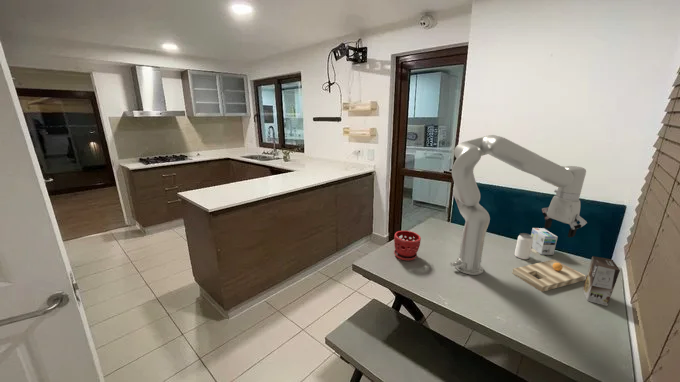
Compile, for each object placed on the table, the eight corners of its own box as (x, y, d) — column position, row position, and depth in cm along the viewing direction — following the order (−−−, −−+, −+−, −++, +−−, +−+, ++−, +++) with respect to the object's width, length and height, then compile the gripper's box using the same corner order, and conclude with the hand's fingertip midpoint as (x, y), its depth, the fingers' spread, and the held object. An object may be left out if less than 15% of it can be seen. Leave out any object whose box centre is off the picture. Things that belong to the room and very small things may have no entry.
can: (532, 259, 137) (537, 238, 133) (519, 259, 137) (523, 238, 133) (523, 253, 143) (528, 232, 139) (511, 253, 143) (515, 232, 139)
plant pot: (408, 265, 132) (410, 244, 128) (388, 255, 142) (389, 234, 138) (424, 257, 140) (426, 236, 136) (403, 247, 149) (405, 227, 146)
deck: (541, 291, 113) (543, 286, 112) (512, 273, 125) (513, 268, 125) (584, 280, 120) (585, 275, 119) (552, 263, 133) (553, 259, 132)
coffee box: (608, 306, 104) (620, 270, 99) (586, 300, 107) (597, 265, 103) (602, 293, 111) (613, 259, 107) (581, 288, 115) (592, 255, 110)
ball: (557, 272, 121) (559, 266, 120) (549, 268, 125) (551, 261, 124) (563, 271, 122) (565, 264, 121) (555, 267, 126) (557, 260, 125)
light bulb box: (553, 255, 141) (558, 236, 138) (540, 255, 141) (545, 236, 138) (540, 245, 151) (544, 227, 148) (527, 245, 151) (531, 227, 148)
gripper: (541, 190, 121) (533, 225, 126) (585, 202, 105) (574, 242, 110) (552, 189, 123) (544, 223, 128) (598, 200, 107) (586, 239, 112)
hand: (558, 232), depth 119 cm, fingers open, 9 cm apart
